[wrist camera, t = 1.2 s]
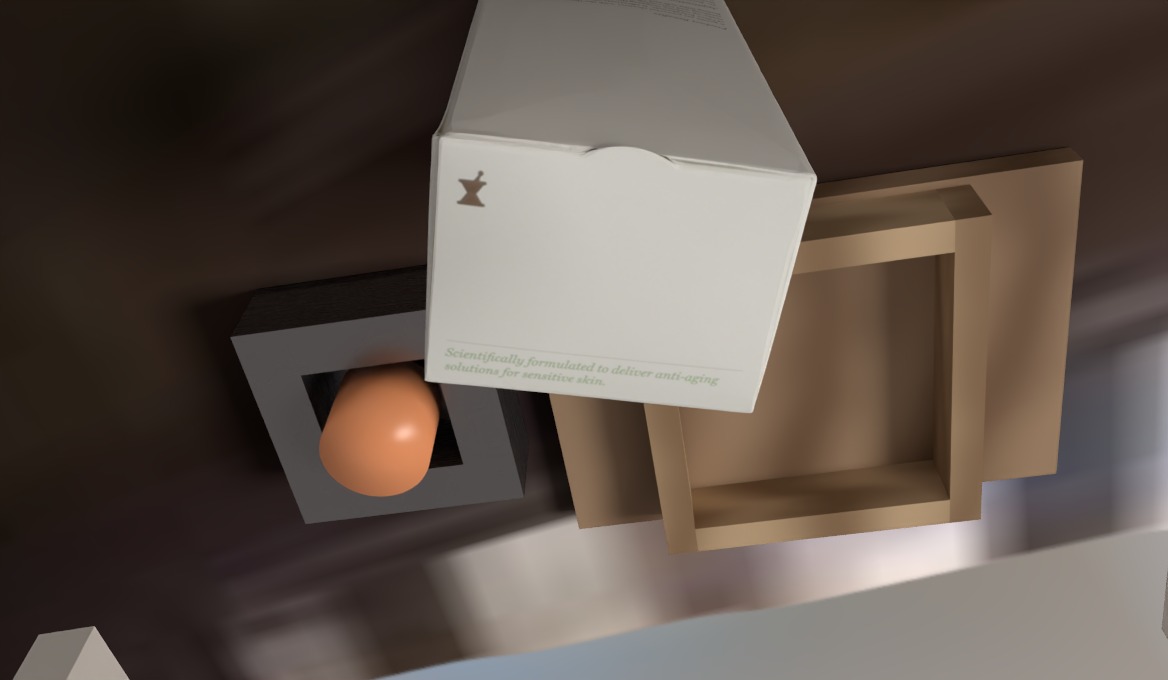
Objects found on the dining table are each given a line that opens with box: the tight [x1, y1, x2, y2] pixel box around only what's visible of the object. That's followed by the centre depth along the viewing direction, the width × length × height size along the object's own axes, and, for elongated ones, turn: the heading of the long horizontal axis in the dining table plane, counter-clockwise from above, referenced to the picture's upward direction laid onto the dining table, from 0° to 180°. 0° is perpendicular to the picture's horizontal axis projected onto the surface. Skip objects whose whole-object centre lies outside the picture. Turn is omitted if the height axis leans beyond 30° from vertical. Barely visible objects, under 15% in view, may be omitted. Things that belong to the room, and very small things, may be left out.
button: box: [319, 361, 442, 497], centre depth 40 cm, size 4×4×4 cm
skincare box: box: [425, 0, 817, 413], centre depth 30 cm, size 8×7×16 cm
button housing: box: [230, 265, 529, 524], centre depth 42 cm, size 9×9×4 cm
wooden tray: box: [549, 147, 1083, 555], centre depth 41 cm, size 20×14×4 cm
